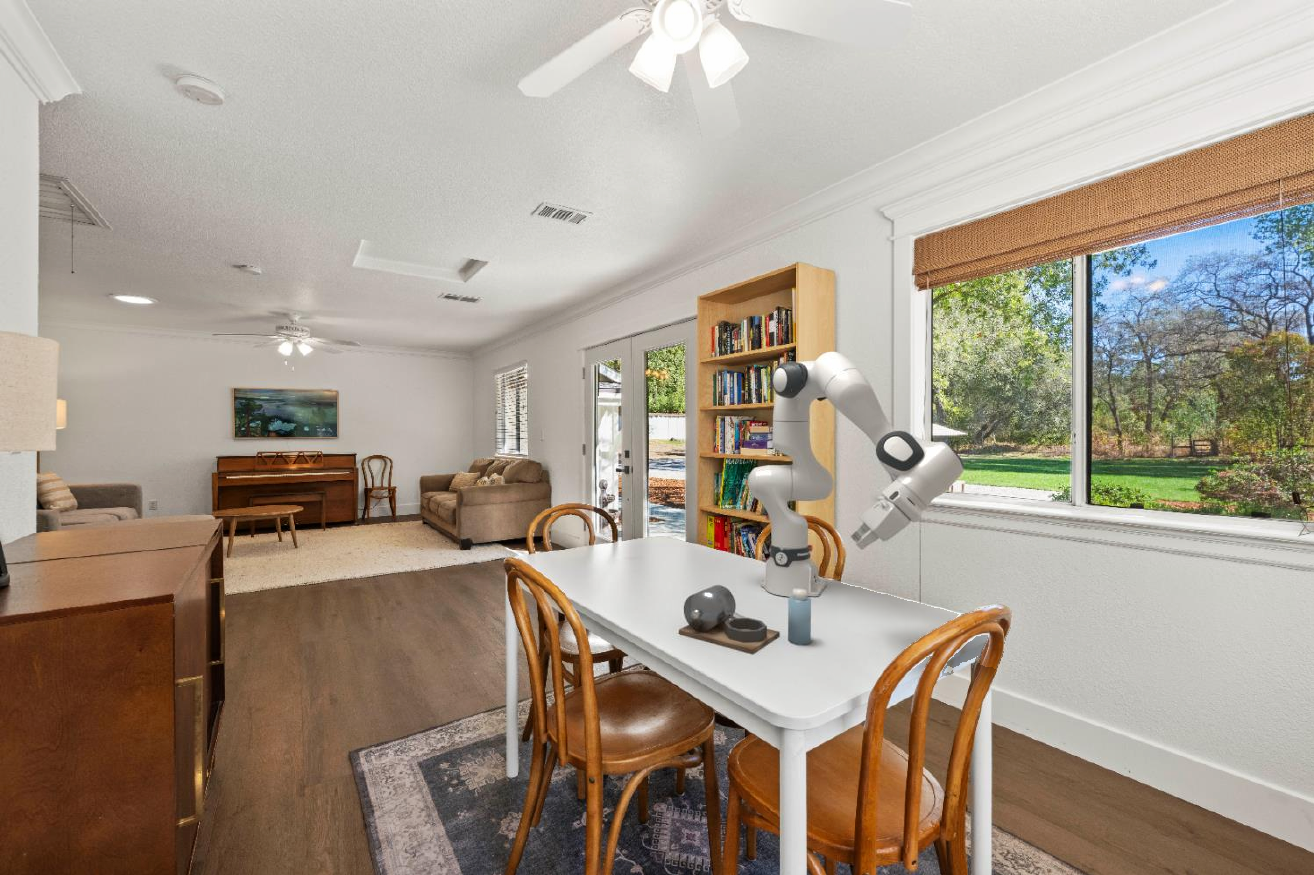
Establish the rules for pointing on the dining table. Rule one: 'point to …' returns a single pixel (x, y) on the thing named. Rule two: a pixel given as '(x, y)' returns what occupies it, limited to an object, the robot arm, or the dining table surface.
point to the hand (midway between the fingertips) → (855, 543)
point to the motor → (709, 608)
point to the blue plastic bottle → (799, 617)
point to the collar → (752, 635)
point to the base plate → (721, 638)
